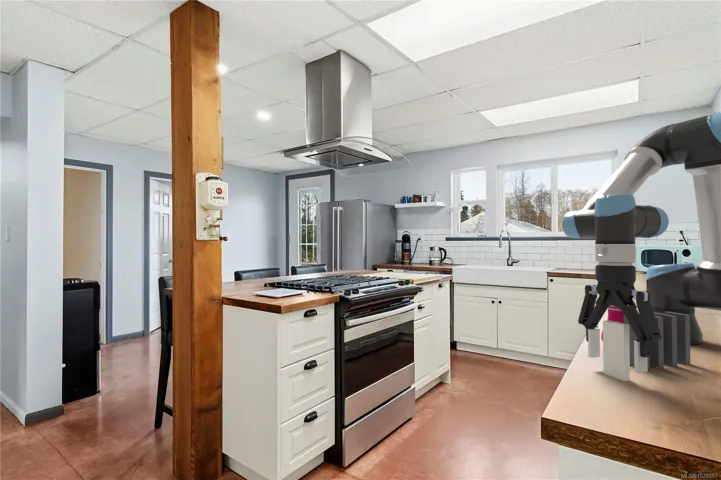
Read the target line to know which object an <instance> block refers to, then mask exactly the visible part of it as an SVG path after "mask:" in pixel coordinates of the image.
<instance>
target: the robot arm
mask: <svg viewBox="0 0 721 480" xmlns="http://www.w3.org/2000/svg"><path fill="white" fill-rule="evenodd" d="M682 164H683V165H684V166H683V167H684V171H686V172H688V173H690V175H692V180H693V187H694V197H695V205H696V211H697V212H696V213H697V221H698V222H697V223H698V230H699V239H700V247H701V253H702V254H701V255H702V258H701V260H699V261H698V262H697V263H696V265H695V263H694V262H688V263H686V262H684V263H672V264H671V263H669V264H659V265H657V264H656V265H651V266H649V267H647V269H646V275H645V286H646V287H645V288H646V289H645V290H642V291H641V290H637V289H636V288H635V283H636V281H637V269H636V268H637V267H636V266H635V265H633V264H635V263H637V257H636V255H637V251H636V247H637V246H636V238H642V239H651V238H655V237H656V238H657V237H659V236H660V235H662V234H664V233H665V232H666V231H667V228H668V227H669V223H670V222H669V221H670V220H669V216H668V214H667V213H666V211H665V210H664V209H662V208H660V207H658V206H653V205H651V204H647V205H641V204H640V205H639V204H637V203H636V198H635V196H634V195H635V194H636V193H637V191H638V190H639V189H640V188H641V186H642V185H643V184H644V183H645V182H646V181H647V180H648V178H649V177H650V176H654V175H656V174H657V173H658V172H659V171H660V170H661V169H663V168H666V167H669V166H670V167H671V166H675V165H682ZM561 228H562V231H563V233H564V235H565V236H566V237H567V238H570V239H581V240H585V239H595V240H594V241H595V242H594V244H595V245H594V250H595V251H594V253H595V255H594V256H595V257H594V260H595V262H596V263H598V264H596V265H595V266H594V268H595V269H594V270H595V272H594V273H595V274H594V275H595V280H596V282H597V284H588V285H584V296H583V301H582V305H581V308H580V312H579V316H578V319H577V320H578V321H577V323H578V324H579V325H582V326H584V328H585V339H586V340H585V341H586V342H588V344H587V345H588V346H587V348H588V352H587V353H588V354H587V355H588V356H587V357H588V358H590V359H592V358H600V357H601V330H600V328H599V325H598V324H599V323H600V322H601V320H602V318H603V317H604V315H605V313H606V311H608V309H607V308H608V307H609V306H611V305H613V306H615V307H619V308H620V310H621V311H623V312H624V314H625V316H626V318H627V320H628V321H629V323H630V325H631V327H632V329H633V331H634V333H635V334H636V336H637V338H638V339H637V340H635V341H634V367H633V368H634V370H633V371H634V372H633V373H636V374H642V373H648V372H649V370H648V363H647V357H650V356H651V341H653V340H660V339H661V334H660V331H659V328H658V325H657V322H656V318H655V315H654V313H661V314H664V312H674V313H681V314H687V315H690V345H700V344H702V343H704V335H703V332H702V329H701V326H700V325H699V322H698V319H697V317H696V312H695V311H696V309H706V310H712V311H713V310H715V311H721V112H717V113H711V114H708V115H703V116H701V117H696V118H693V119H688V120H685V121H680V122H676V123H672V124H668V125H664V126H662V127H660V128H657V129H656V130H654V131H652V132H651V133H649V134H647V135H646V136H645V137H644V138H642V139H641V140H639V141H638V142H637V143H636V144H635V145H634V146H632V148H631V149H629V150H628V152H627V153H626V154H625V156H624V161H623V163H622V164H621V165H620V166H619V167H618V168H617V169H616V170H615V171H614V173H613V174H612V175H611V176H610V177H609V178H608V179H606V181H605V183H603V185H602V186H601V187H600V188H599V189H598V190H597V191H596V192H595V193H594V195H593V196H592V197H591V198H590V199H589V200H588V201H587V202H586V203H585V204H584V205H583V206H582V208H580V209H579V210H577V209H576V210H571V211H568V212H566V213H565V214H564V215H563V217H562V220H561ZM598 295H599V296H598ZM627 305H628V306H627ZM639 314H640V315H639Z"/></svg>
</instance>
